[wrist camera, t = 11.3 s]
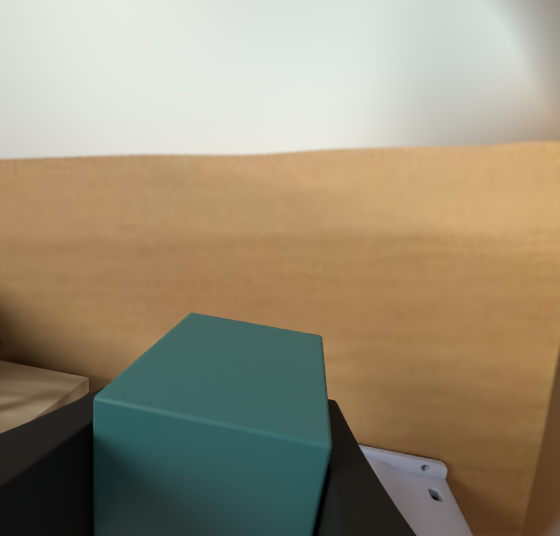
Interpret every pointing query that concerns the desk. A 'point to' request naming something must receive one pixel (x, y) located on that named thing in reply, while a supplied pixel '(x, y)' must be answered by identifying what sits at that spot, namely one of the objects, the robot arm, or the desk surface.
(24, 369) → the drawer
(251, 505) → the block
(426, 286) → the desk surface
